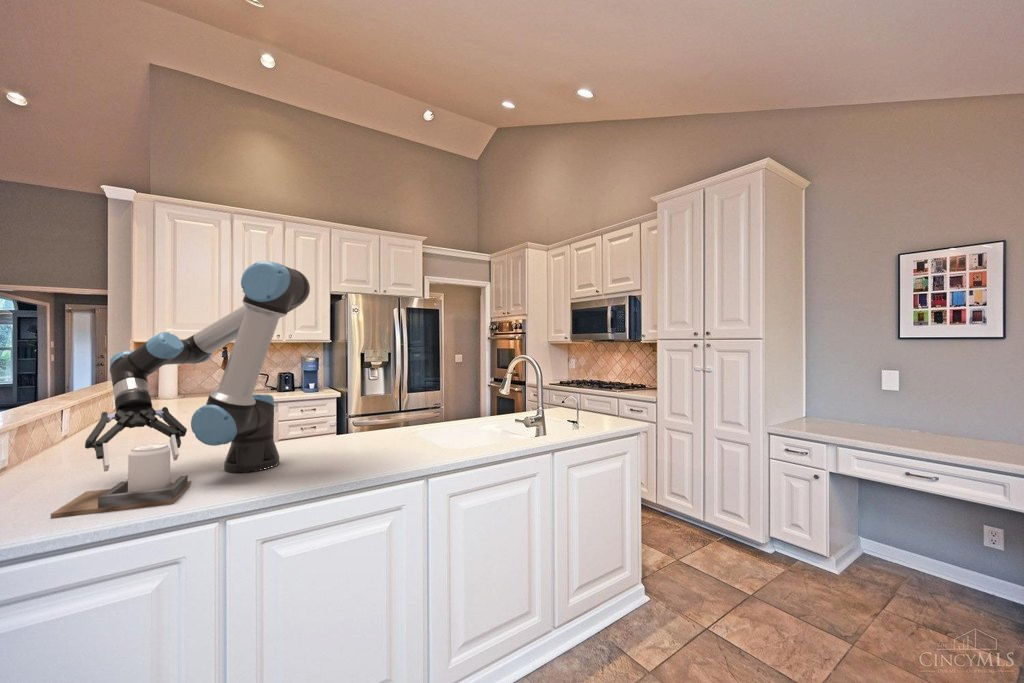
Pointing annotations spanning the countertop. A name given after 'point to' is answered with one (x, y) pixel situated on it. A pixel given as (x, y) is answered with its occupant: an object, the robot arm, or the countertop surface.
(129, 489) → the beverage can
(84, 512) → the keeper
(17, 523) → the countertop surface
